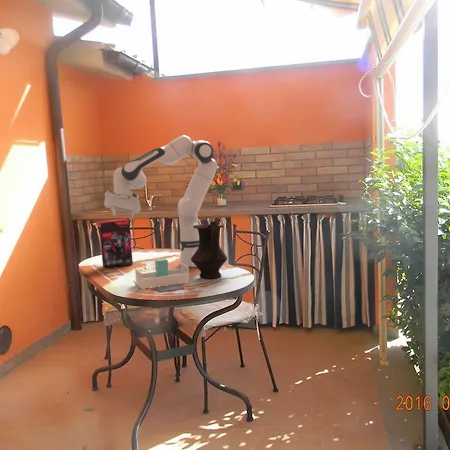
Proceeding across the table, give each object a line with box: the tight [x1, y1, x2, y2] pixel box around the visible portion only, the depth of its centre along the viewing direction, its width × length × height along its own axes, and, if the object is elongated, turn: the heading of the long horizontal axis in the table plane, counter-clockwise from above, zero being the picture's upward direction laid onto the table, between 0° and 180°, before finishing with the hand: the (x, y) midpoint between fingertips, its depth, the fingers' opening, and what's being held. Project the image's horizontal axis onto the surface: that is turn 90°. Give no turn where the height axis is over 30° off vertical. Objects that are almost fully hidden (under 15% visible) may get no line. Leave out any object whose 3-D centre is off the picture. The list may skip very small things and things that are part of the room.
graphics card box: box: [98, 218, 134, 269], centre depth 295 cm, size 17×7×27 cm, turn 116°
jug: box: [191, 220, 228, 280], centre depth 255 cm, size 21×18×30 cm
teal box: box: [154, 258, 169, 277], centre depth 248 cm, size 5×5×12 cm
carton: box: [133, 262, 190, 290], centre depth 251 cm, size 24×18×8 cm
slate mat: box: [153, 284, 185, 293], centre depth 238 cm, size 12×9×1 cm
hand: (123, 217), depth 268 cm, fingers open, 8 cm apart
